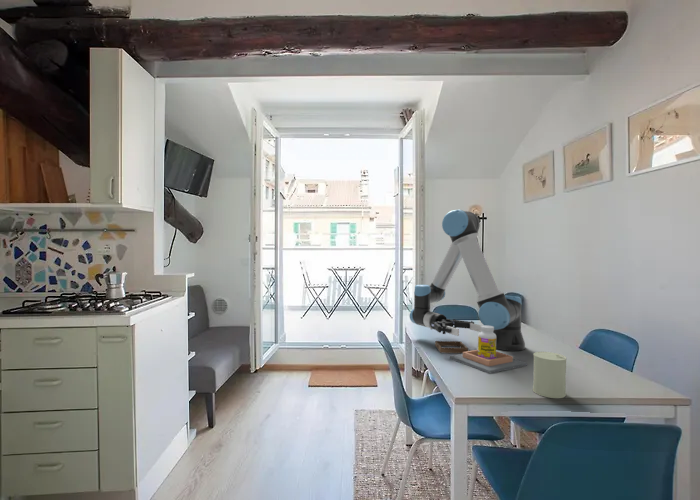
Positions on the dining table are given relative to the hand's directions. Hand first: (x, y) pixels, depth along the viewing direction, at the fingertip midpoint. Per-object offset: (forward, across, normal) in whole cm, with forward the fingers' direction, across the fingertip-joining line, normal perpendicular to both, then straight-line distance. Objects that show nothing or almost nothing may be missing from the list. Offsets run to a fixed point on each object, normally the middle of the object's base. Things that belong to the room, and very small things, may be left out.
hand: (470, 330), depth 158 cm
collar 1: (-11, 0, -10) cm, 15 cm away
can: (+40, +7, -11) cm, 42 cm away
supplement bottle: (+9, 0, -10) cm, 13 cm away
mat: (+9, 0, -10) cm, 13 cm away
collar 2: (+9, 0, -10) cm, 13 cm away
